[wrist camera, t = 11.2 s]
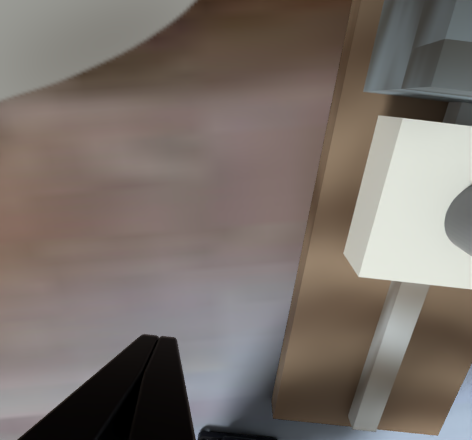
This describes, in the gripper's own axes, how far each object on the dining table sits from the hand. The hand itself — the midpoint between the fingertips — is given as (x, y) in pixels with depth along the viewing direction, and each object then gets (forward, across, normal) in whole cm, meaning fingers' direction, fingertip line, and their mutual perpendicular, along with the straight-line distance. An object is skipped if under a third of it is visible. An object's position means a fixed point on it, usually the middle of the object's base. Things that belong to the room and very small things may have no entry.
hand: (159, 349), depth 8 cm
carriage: (+9, -12, -3) cm, 15 cm away
